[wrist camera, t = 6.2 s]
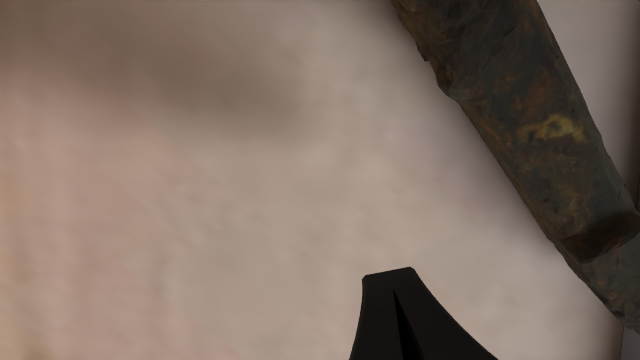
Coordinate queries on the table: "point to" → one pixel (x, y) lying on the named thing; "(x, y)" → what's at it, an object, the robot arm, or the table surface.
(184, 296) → the table surface
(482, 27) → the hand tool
